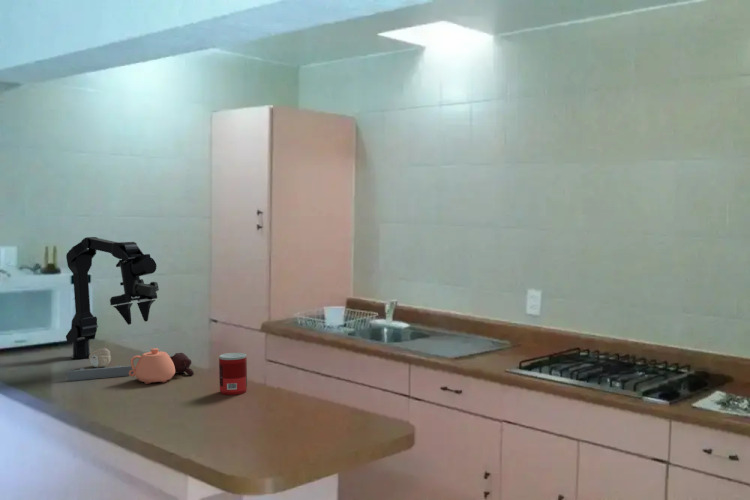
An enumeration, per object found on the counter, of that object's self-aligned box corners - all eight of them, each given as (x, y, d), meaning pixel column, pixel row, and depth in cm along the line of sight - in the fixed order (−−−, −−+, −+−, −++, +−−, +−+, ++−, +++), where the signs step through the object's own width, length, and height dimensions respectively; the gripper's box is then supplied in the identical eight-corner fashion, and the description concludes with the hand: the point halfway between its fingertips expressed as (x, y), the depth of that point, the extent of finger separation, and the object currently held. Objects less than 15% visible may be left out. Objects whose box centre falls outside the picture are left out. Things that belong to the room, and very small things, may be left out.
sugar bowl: (176, 383, 227) (176, 350, 226) (129, 387, 222) (128, 354, 222) (174, 374, 238) (173, 343, 238) (128, 378, 234) (128, 346, 233)
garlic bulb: (94, 370, 246) (93, 346, 246) (86, 367, 251) (85, 344, 250) (113, 366, 251) (112, 343, 250) (105, 364, 255) (104, 341, 255)
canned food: (252, 391, 216) (251, 354, 215) (230, 396, 210) (229, 359, 209) (236, 387, 221) (236, 351, 221) (214, 392, 215) (213, 355, 215)
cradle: (67, 376, 236) (67, 367, 236) (132, 371, 244) (132, 362, 243) (67, 381, 231) (67, 371, 230) (133, 375, 238) (133, 366, 238)
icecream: (155, 352, 242) (179, 363, 232) (174, 344, 247) (199, 354, 237) (159, 371, 244) (183, 382, 234) (178, 362, 249) (203, 373, 239)
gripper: (133, 275, 240) (141, 322, 239) (166, 272, 258) (173, 316, 257) (105, 281, 243) (113, 327, 243) (140, 277, 261) (147, 321, 260)
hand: (138, 322), depth 251 cm, fingers open, 9 cm apart
